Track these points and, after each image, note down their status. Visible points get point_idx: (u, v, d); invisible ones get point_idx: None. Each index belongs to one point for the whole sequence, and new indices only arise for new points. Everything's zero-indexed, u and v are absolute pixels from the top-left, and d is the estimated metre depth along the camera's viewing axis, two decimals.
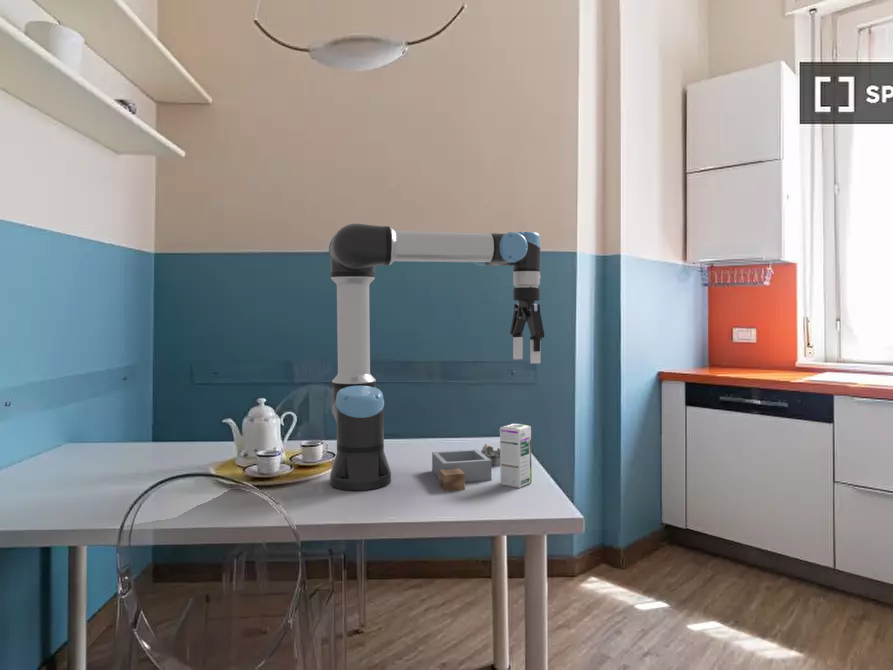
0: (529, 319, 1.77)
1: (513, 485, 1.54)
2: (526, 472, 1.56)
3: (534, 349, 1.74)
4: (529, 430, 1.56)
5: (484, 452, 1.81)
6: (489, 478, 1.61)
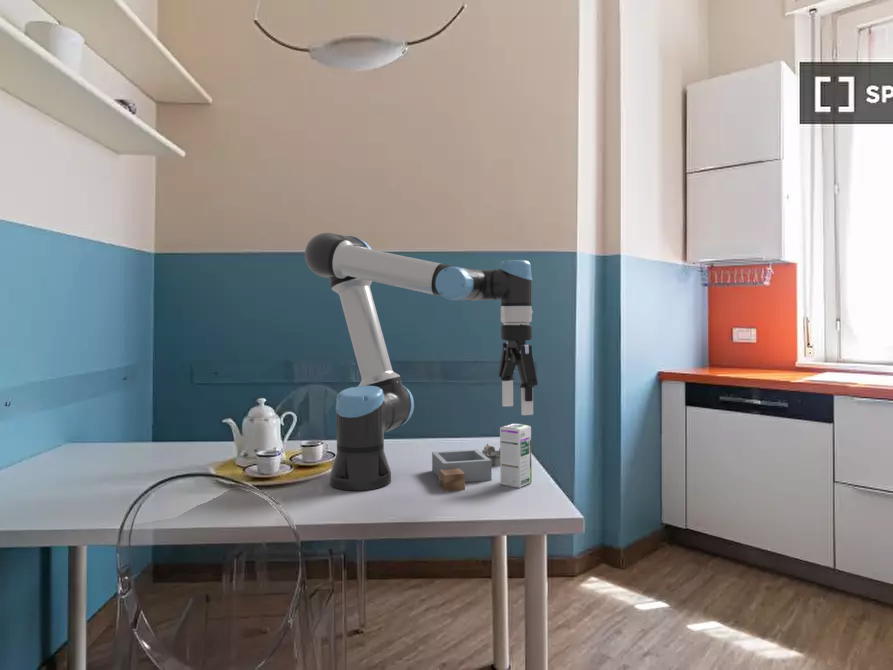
0: (519, 362, 1.51)
1: (513, 485, 1.54)
2: (526, 472, 1.56)
3: (525, 398, 1.48)
4: (529, 430, 1.56)
5: (485, 452, 1.81)
6: (489, 478, 1.61)
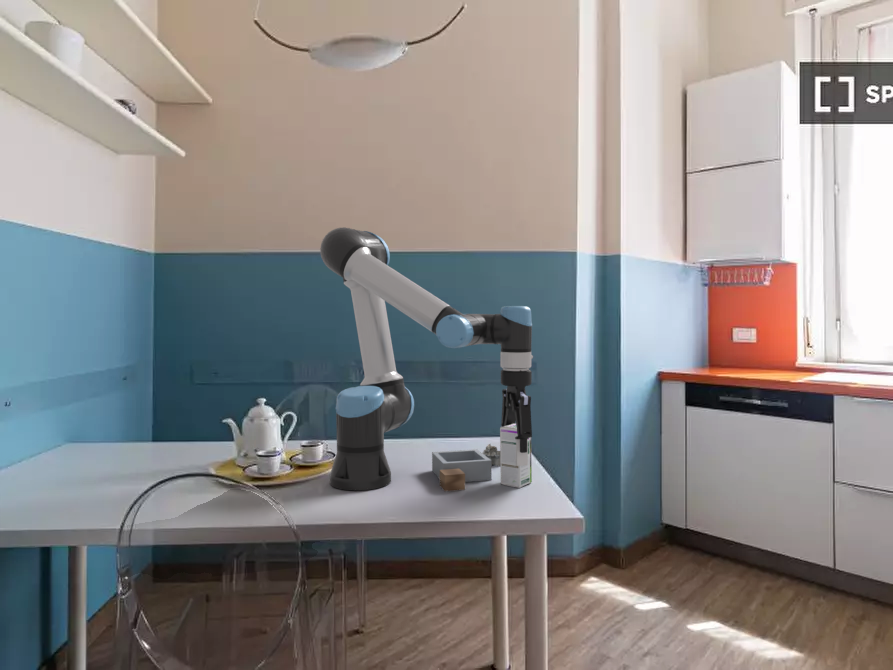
0: (517, 411, 1.53)
1: (513, 485, 1.54)
2: (526, 472, 1.55)
3: (520, 450, 1.52)
4: None
5: (487, 452, 1.81)
6: (489, 478, 1.61)
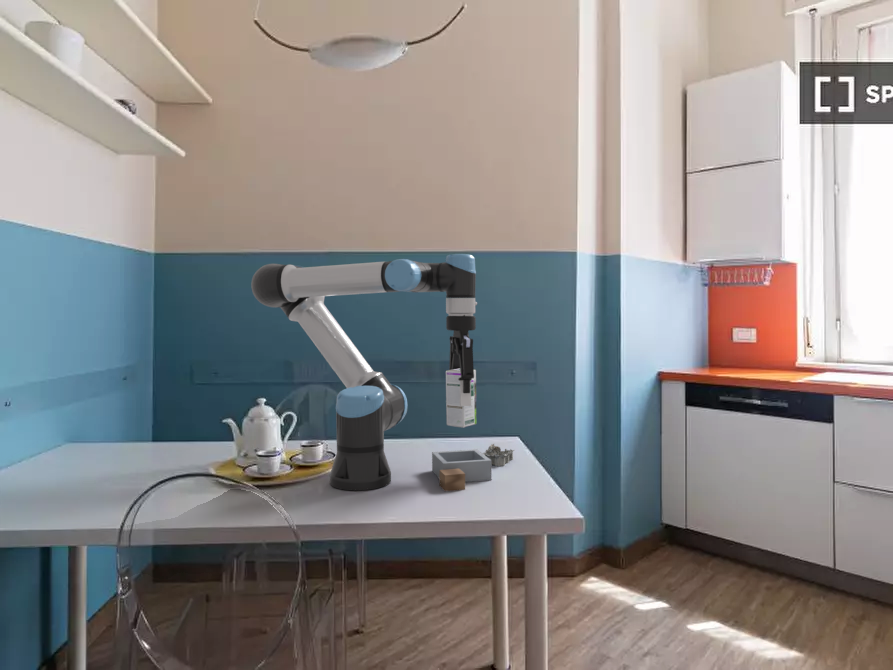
0: (461, 354, 1.60)
1: (458, 425, 1.62)
2: (471, 413, 1.63)
3: (463, 391, 1.59)
4: (474, 373, 1.64)
5: (489, 452, 1.81)
6: (489, 478, 1.61)
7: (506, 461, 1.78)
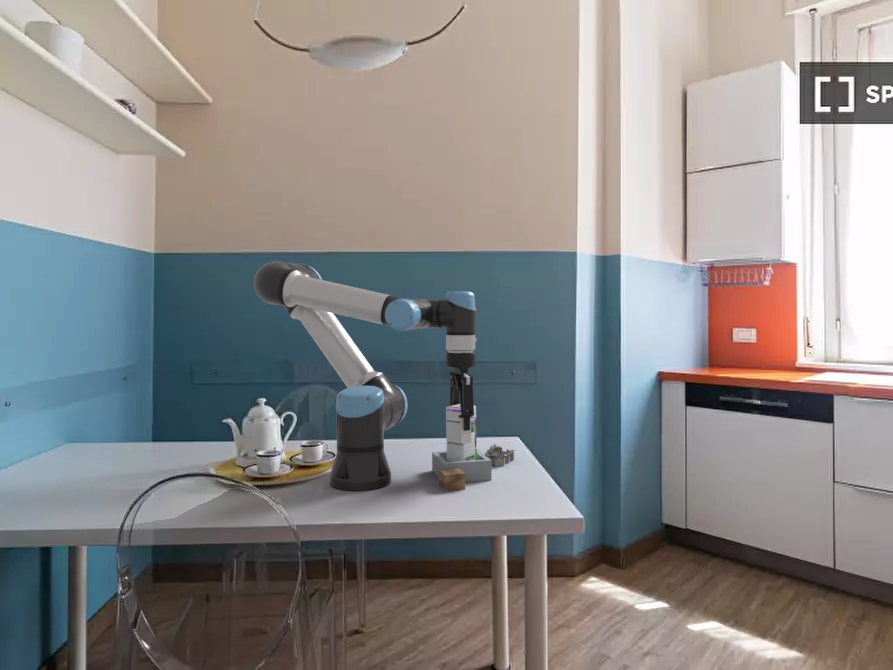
0: (461, 391, 1.61)
1: None
2: (471, 449, 1.63)
3: (464, 428, 1.59)
4: (474, 409, 1.64)
5: (490, 452, 1.81)
6: (489, 478, 1.61)
7: (507, 461, 1.78)
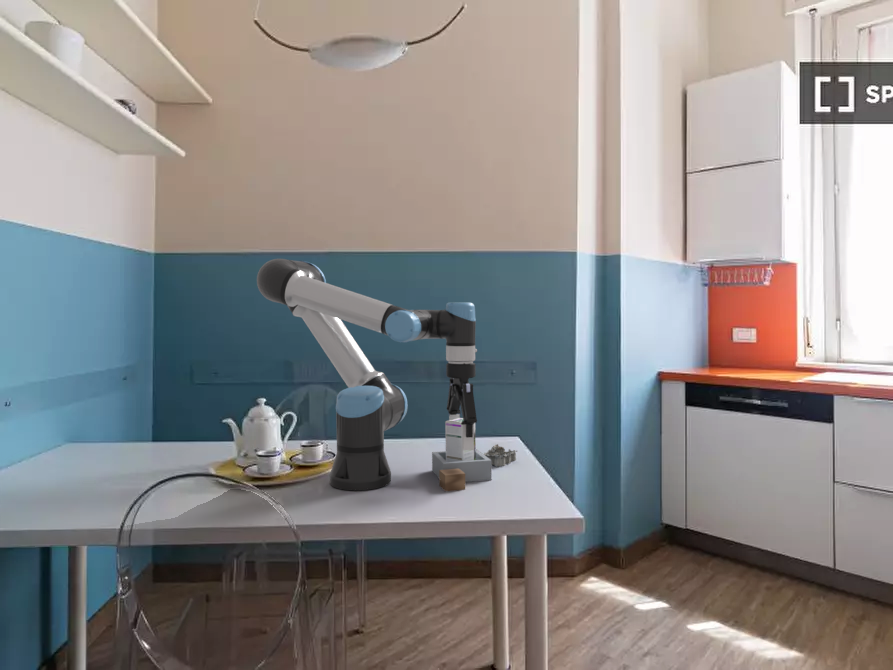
0: (462, 400, 1.60)
1: None
2: None
3: (466, 435, 1.57)
4: None
5: (491, 452, 1.81)
6: (489, 478, 1.61)
7: (507, 461, 1.77)
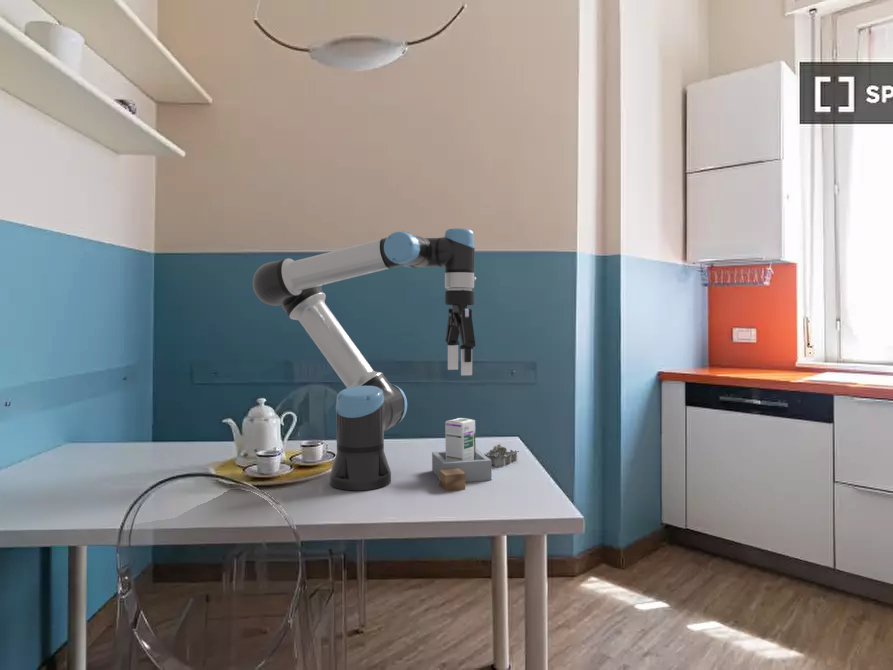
0: (460, 326, 1.59)
1: None
2: None
3: (465, 359, 1.56)
4: (473, 424, 1.65)
5: (493, 452, 1.81)
6: (489, 478, 1.61)
7: (508, 462, 1.77)
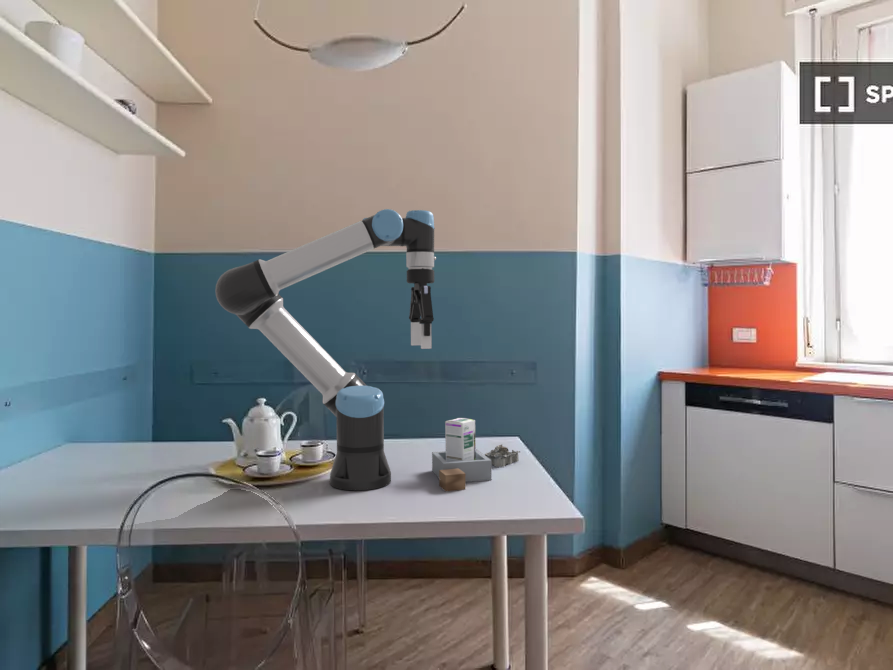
0: (420, 302, 1.68)
1: None
2: None
3: (424, 334, 1.65)
4: (473, 424, 1.65)
5: (494, 452, 1.81)
6: (489, 478, 1.61)
7: (508, 462, 1.77)
